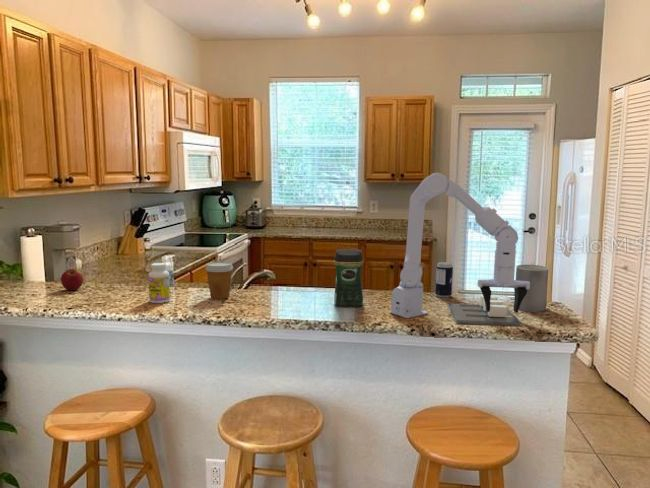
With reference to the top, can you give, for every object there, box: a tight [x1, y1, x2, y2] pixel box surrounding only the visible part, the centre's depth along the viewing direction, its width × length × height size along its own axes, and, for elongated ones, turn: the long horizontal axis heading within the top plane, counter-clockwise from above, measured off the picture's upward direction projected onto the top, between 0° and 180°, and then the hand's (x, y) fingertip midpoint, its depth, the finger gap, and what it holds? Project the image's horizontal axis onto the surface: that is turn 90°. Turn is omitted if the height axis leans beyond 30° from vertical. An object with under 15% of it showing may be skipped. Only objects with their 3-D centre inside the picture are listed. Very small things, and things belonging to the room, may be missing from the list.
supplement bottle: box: [148, 262, 171, 304], centre depth 165 cm, size 7×7×13 cm
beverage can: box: [435, 261, 454, 298], centre depth 175 cm, size 6×6×12 cm
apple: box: [60, 268, 85, 291], centre depth 180 cm, size 8×8×8 cm
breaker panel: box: [447, 303, 522, 327], centre depth 151 cm, size 18×19×1 cm
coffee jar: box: [333, 248, 364, 308], centre depth 162 cm, size 10×8×19 cm
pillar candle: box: [515, 262, 549, 313], centre depth 159 cm, size 10×10×15 cm
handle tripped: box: [488, 304, 508, 317], centre depth 146 cm, size 5×2×3 cm, turn 83°
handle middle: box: [483, 299, 503, 311], centre depth 152 cm, size 5×2×3 cm, turn 83°
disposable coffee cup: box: [205, 261, 234, 300], centre depth 170 cm, size 10×10×12 cm
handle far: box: [479, 294, 498, 306], centre depth 158 cm, size 5×2×3 cm, turn 83°
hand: (501, 311), depth 146 cm, fingers open, 7 cm apart
